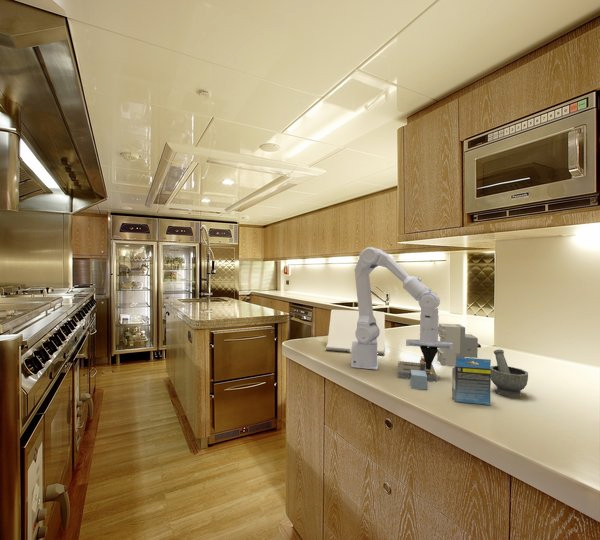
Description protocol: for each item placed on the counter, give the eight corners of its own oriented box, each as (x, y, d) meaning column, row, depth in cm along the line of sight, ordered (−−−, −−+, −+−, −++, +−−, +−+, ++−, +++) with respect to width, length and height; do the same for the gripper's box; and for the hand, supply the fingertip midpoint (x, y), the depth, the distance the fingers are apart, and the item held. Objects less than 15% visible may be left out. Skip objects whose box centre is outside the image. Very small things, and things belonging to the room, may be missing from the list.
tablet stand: (331, 343, 160) (332, 308, 160) (383, 347, 154) (384, 311, 154) (325, 352, 142) (326, 313, 142) (384, 357, 136) (385, 316, 136)
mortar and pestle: (536, 400, 91) (536, 357, 91) (502, 399, 91) (503, 356, 91) (510, 386, 103) (511, 348, 103) (480, 385, 103) (481, 347, 103)
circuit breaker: (482, 368, 122) (482, 328, 122) (441, 365, 125) (442, 326, 125) (475, 362, 129) (476, 325, 129) (437, 360, 132) (438, 323, 132)
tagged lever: (420, 370, 109) (420, 362, 109) (419, 368, 112) (419, 360, 112) (424, 371, 109) (424, 362, 109) (423, 368, 111) (423, 360, 111)
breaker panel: (398, 377, 108) (398, 370, 108) (397, 366, 122) (397, 359, 122) (436, 381, 105) (436, 374, 105) (431, 369, 119) (432, 363, 119)
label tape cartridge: (485, 400, 91) (486, 356, 91) (490, 405, 87) (491, 359, 87) (451, 396, 93) (452, 353, 93) (454, 402, 89) (455, 356, 89)
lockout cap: (411, 388, 99) (411, 374, 99) (410, 382, 104) (410, 369, 104) (426, 389, 98) (427, 376, 98) (425, 383, 103) (425, 371, 103)
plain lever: (421, 366, 115) (421, 357, 115) (420, 364, 117) (420, 356, 117) (425, 366, 114) (425, 358, 114) (424, 364, 117) (424, 356, 117)
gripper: (406, 328, 108) (406, 369, 108) (454, 332, 104) (453, 374, 104) (406, 325, 115) (405, 364, 115) (450, 328, 111) (450, 368, 111)
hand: (428, 368), depth 110 cm, fingers closed
